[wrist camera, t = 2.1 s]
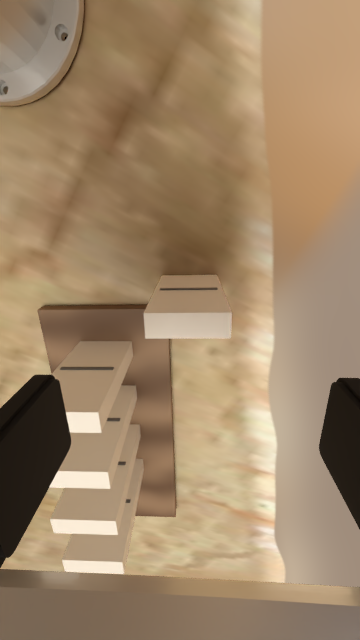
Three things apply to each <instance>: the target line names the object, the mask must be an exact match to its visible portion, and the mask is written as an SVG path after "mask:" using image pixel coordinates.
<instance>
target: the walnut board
mask: <svg viewBox="0 0 360 640" xmlns="http://www.w3.org/2000/svg"><path fill="white" fill-rule="evenodd" d="M146 307H147V305H82V306H43V307H41V308H40V309H38V315H39V319H40V323H41V328H42V332H43V337H44V341H45V346H46V350H47V355H48V359H49V364H50V368H51V373H53V372H54V371H55V369H56V368H57V367H58V366H59V365H60V364H61V363H62V361H63V360H64V359H65V358H66V357H67V356H68V355H69V353H70V352H71V351H72V350H73V349H74V348H75V346H76V345H77V344H78V343H79V342H80V341H132V349H133V358H132V360H131V362H130V365H129V367H128V370H127V372H126V375H125V377H124V380H123V382H122V384H121V385H129V386H136V391H137V401H136V404H135V408H134V411H133V414H132V418H131V421H130V424H138V425H140V434H141V437H140V441H139V446H138V450H137V454H136V459H143V465H144V471H143V477H142V482H141V487H140V492H139V498H138V503H137V508H136V514H135V516H158V517H176V491H175V465H174V440H173V414H172V388H171V362H170V339H145V327H144V311H145V309H146Z"/></svg>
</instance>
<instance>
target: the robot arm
mask: <svg viewBox="0 0 360 640" xmlns="http://www.w3.org/2000/svg"><path fill="white" fill-rule="evenodd" d="M83 15H84V0H0V106H18V105H22V104H27V103H31V102H33V101H35V100H37V99H39V98H41V97H43V96H45V95H46V94H47V93H48V92H50V91H51V90H52V89H53V88H54V87H55V86H56V85H58V83H59V82H60V81H61V79H62V78H63V76H64V75H65V74H66V72H67V71H68V69H69V67H70V65H71V63H72V61H73V59H74V56H75V54H76V52H77V48H78V44H79V40H80V37H81V33H82V25H83ZM66 36H68V37H67V39H66V40H65V41H64V38H65V37H66ZM7 90H8V92H7ZM70 446H71V435H70V431H69V426H68V421H67V416H66V411H65V406H64V401H63V396H62V391H61V386H60V382H59V380H58V379H55V377H54V376H53V375H34V376H33V377H32V378H31V379H30V380H29V381H28V382H27V383H26V384H25V385H24V386H23V387H22V388H21V389H20V390H19V391H18V392H17V393H16V394H14V395H13V396H12V397H11V398H10V399H9V400H8V401H7V402H6V403H5V404H4V405H3V406H2V407H1V408H0V568H1V566H2V564H3V562H4V560H5V559H6V558H8V557H10V556H11V555H12V554H13V553H14V551H15V549H16V548H17V546H18V544H19V542H20V540H21V538H22V536H23V535H24V533H25V531H26V529H27V527H28V525H29V524H30V522H31V520H32V518H33V516H34V514H35V512H36V511H37V509H38V507H39V505H40V503H41V501H42V499H43V498H44V496H45V494H46V492H47V490H48V488H49V487H50V485H51V483H52V481H53V479H54V477H55V475H56V474H57V472H58V470H59V468H60V466H61V464H62V463H63V461H64V459H65V457H66V455H67V453H68V451H69V449H70ZM319 449H320V454H321V456H322V459H323V461H324V463H325V464H326V466H327V468H328V470H329V472H330V474H331V476H332V478H333V480H334V482H335V483H336V485H337V487H338V489H339V491H340V493H341V495H342V497H343V499H344V500H345V502H346V504H347V506H348V508H349V510H350V512H351V514H352V516H353V517H354V519H355V521H356V523H357V525H358V527H359V529H360V379H359V378H339V379H338V380H337V382H334V383H332V385H331V389H330V395H329V399H328V404H327V409H326V414H325V419H324V424H323V429H322V434H321V439H320V444H319ZM0 640H360V587H344V586H326V585H309V584H292V583H275V582H257V581H238V580H219V579H200V578H180V577H161V576H141V575H121V574H99V573H77V572H54V571H32V570H9V569H0Z"/></svg>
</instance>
